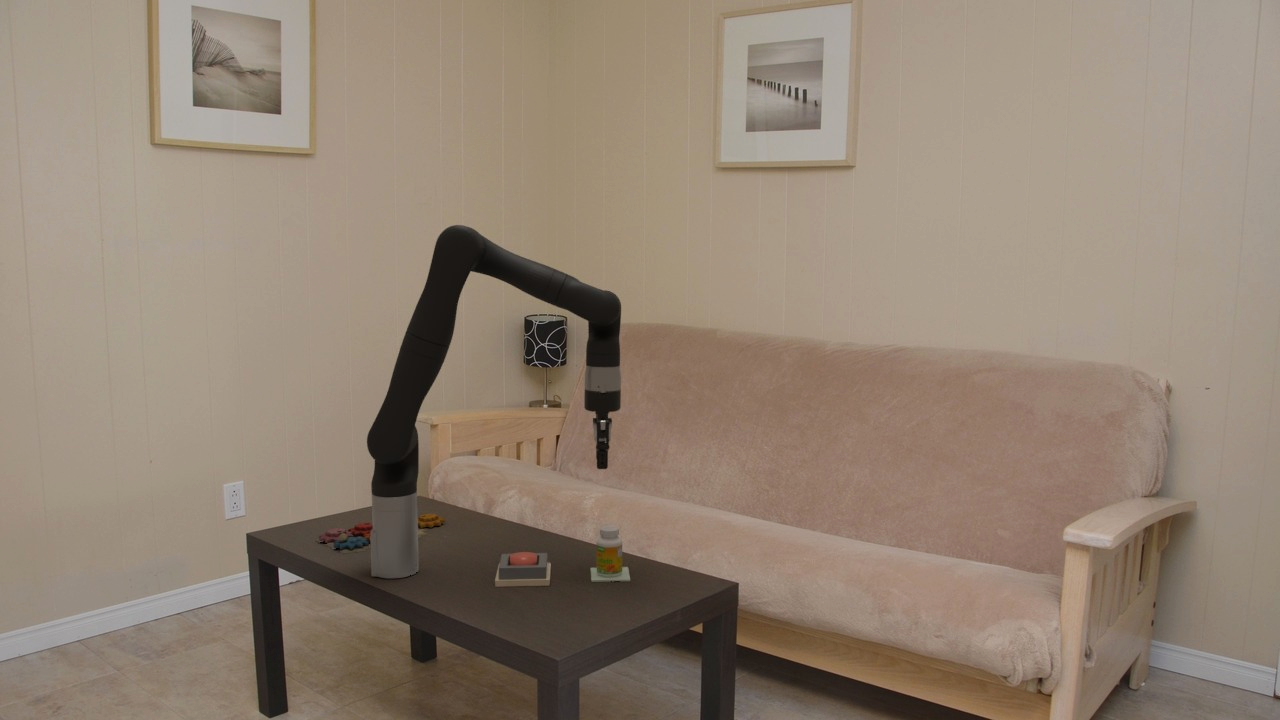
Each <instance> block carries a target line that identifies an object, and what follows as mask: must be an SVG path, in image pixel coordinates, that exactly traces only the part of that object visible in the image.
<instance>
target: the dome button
mask: <svg viewBox="0 0 1280 720" xmlns="http://www.w3.org/2000/svg"><path fill="white" fill-rule="evenodd" d="M535 553H536V552H531V551H519V552H514V553H511V554H512V555H510V566H512V565H537V554H535Z"/></svg>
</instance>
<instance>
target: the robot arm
mask: <svg viewBox="0 0 1280 720" xmlns="http://www.w3.org/2000/svg"><path fill="white" fill-rule="evenodd" d="M433 248H434V249H433V254H432V257H431V261H430V266H429V270H428V272H427V273H428V275H427V277H426V282H425V284H424V288H423V290H422V292H421V294H420V297H419V299H418V301H417V304H416V305H415V308H414V311H413V312H412V316H411V318H410V321H409V323H408V325H407V327H406V331H405V333H404V336H403V339H402V341H401V345H400V348H399V351H398V353H397V358H396V361H395V364H394V368H393V370H392V371H393V372H392V374H391V377H390V382H389V385H388V390H387V391H386V395H385V397H384V400H383V401H382V404H381V406H380V409H379V411H378V413H377V415H376V417H375V419H374V421H373V423H372V425H371V426H370V429H369V431H368V433H367V437H366V446H367V451H368V453H369V455H370V456H371V458H372V459H373V460H374V468H373V476H372V479H371V484H370V485H371V486H370V487H371V491H370V492H371V513H372V515H371V517H372V519H371V520H372V522H371V523H372V524H373V529H372V531H371V533H370V541H371V548H370V565H371V566H370V568H371V569H370V570H371V573H370V574H371V576H370V577H378V578H382V579H401V578H406V577H410V575H411V576H413V575H415V574H417V573H418V572H419V562H420V561H419V560H420V559H419V539H418V530H419V526H418V518H419V517H418V478H419V469H420V468H419V465H420V464H419V461H420V458H419V457H420V455H419V454H420V453H419V452H420V451H419V449H420V448H419V433H418V428H417V426H416V423H417V419H418V417H419V413H420V410H421V407H422V404H423V402H424V401H425V398H426V396H428V393H429V392H430V390H431V388H432V386H433V384H434V383H435V381H436V378H437V377H438V375H439V373H440V371H441V369H442V367H443V365H444V362H445V360H446V357H447V355H448V352H449V350H450V346H451V343H452V341H453V340H452V339H453V337H454V333H455V332H454V331H455V327H456V326H455V325H456V319H457V312H458V306H459V305H458V304H459V300H460V297H461V294H462V292H463V289H464V287H465V284H466V282H467V279H468V277H469V275H470V273H471V272H473V273H477V274H481V275H485V276H489V277H492V278H495V279H497V280H499V281H502V282H505V283H507V284H509V285H510V286H512V287H513V288H516V289H518V290H520V291H521V292H523V293H525V294H527V295H529V296H531V297H532V298H533V297H534V298H535V299H537V300H541V301H542V302H544V303H547V304H549V305H552V306H553V307H557V308H560V309H561V310H562V309H563V310H566V311H568V312H570V313H572V314H573V315H576V316H577V317H579V318H581V319H583V320H585V321H587V323H588V324H587V325H588V326H587V327H588V337H587V341H586V348H585V349H586V350H585V354H586V355H585V371H584V400H583V401H584V405H583V407H584V410H586V411H587V412H591V413H593V412H594V413H595V417H592V429H593V440H594V442H595V452H596V453H595V456H596V457H595V458H596V469H598V470H606V469H608V460H609V455H608V454H609V450H610V442H611V438H612V428H613V419H612V417H609V414H610V413H613V412H618V411H620V409H621V408H622V406H621V405H622V404H621V403H622V402H621V401H622V400H621V396H622V393H621V392H622V375H621V345H620V334H621V321H622V320H621V319H622V302H621V300H620V299H619V297H618V295H616V293H615V292H612V291H610V290H607V289H606V290H603V289H601V288H598V287H595V286H593V285H589V284H588V283H585V282H582V281H580V280H579V279H578V278H576V277H575V276H572V275H570V274H568V273H565V272H563V271H561V270H558V269H556V268H553V267H551V266H548V265H546V264H544V263H541V262H538V261H534V260H532V259H530V258H526V257H524V256H521V255H519V254H517V253H513V252H511V251H509V250H507V249H505V248H504V247H502V246H500V245H498V244H496V243H494V242H493V241H491V240H490V239H488V238H487V237H485V236H484V235H482V234H481V233H480V232H479V231H477V230H476V229H474V228H472V227H470V226H467V225H464V224H463V225H462V224H455V225H450V226H448V227H446V228H445V229H444V230H442V231H441V233H440V234H439V235H438V237H437V239H436V242H435V245H434V247H433ZM416 572H417V573H416Z"/></svg>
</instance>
